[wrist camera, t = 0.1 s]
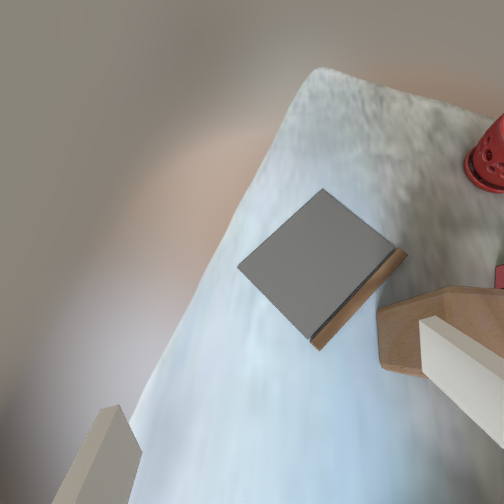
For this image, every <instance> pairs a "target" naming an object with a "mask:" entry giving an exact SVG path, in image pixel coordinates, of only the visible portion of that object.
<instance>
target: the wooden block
mask: <svg viewBox="0 0 504 504" xmlns="http://www.w3.org/2000/svg"><path fill="white" fill-rule="evenodd" d="M432 316H437V317H439V318H440V319H442V320H443V321H445V322H447V323H448V324H450V325H451V326H453V327H454V328H456V329H458V330H459V331H461V332H462V333H464V334H465V335H467V336H469V337H470V338H472V339H473V340H475V341H476V342H478V343H480V344H481V345H483V346H484V347H486V348H487V349H489V350H491V351H492V352H494V353H495V354H497V355H498V356H500V357H502V358H503V359H504V289H493V288H479V287H465V286H448V287H445V288H441V289H438V290H435V291H432V292H429V293H426V294H423V295H420V296H417V297H414V298H410V299H407V300H404V301H401V302H398V303H395V304H392V305H389V306H386V307H383V308H380V309H378V311H377V324H378V339H379V354H380V364H381V367H382V368H384V369H385V370H388V371H393V372H398V373H403V374H408V375H413V376H418V377H423V378H427V379H430V378H429V377H427V376H426V375H425V374H424V373H423V372H422V361H421V345H420V329H419V320H421V319H425V318H428V317H432Z"/></svg>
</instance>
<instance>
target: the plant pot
mask: <svg viewBox="0 0 504 504" xmlns="http://www.w3.org/2000/svg"><path fill="white" fill-rule="evenodd" d="M464 167H465V171H466V174H467V176H468V177H469V179H470V180H471V181H472V182H473V183H474V184H475V185H477V186H478V187H480V188H481V189H483V190H486V191H489V192H493V193H504V114H503V115H501V116H500V117H499V118H498V119H497V120H496V121H495V122H494V123H493V124H492V125H491V127H490V128H489V129H488V130H487V131H486V133H485V134H484V135H483V137H482V138H481V139H480V141H479V143H478V144H477V146H476V147H474V148H473V149H471V150H470V151H469V153H468V154H467V156H466V158H465V162H464Z"/></svg>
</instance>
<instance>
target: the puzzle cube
mask: <svg viewBox="0 0 504 504" xmlns="http://www.w3.org/2000/svg"><path fill="white" fill-rule="evenodd" d="M495 289H504V264H503V265H500V266H497V267H496V281H495Z"/></svg>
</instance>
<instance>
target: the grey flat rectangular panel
mask: <svg viewBox="0 0 504 504" xmlns="http://www.w3.org/2000/svg"><path fill="white" fill-rule="evenodd" d="M394 248H395V247H394V246H393V245H391V244H390V243H389V242H388V241H386V240H385V239H384V238H383V237H381V236H380V235H379V234H378V233H376V232H375V231H374V230H373V229H371V228H370V227H369V226H368V225H366V224H365V223H364V222H363V221H361V220H360V219H359V218H358V217H357V216H355V215H354V214H353V213H352V212H350V211H349V210H348V209H347V208H345V207H344V206H343V205H342V204H340V203H339V202H338V201H337V200H335V199H334V198H333V197H332V196H330V195H329V194H328V193H327V192H325V191H324V190H323V189H322V190H321V191H320V192H319V193H318V194H317V195H315V196H314V197H313V198H312V199H311V200H310V201H309V202H308V203H307V204H306V205H305V206H303V207H302V208H301V209H300V210H299V211H298V212H297V213H296V214H295V215H294V216H292V217H291V218H290V219H289V220H288V221H287V222H286V223H285V224H284V225H283V226H282V227H280V228H279V229H278V230H277V231H276V232H275V233H274V234H273V235H272V236H271V237H269V238H268V239H267V240H266V241H265V242H264V243H263V244H262V245H261V246H260V247H258V248H257V249H256V250H255V251H254V252H253V253H252V254H251V255H250V256H249V257H248V258H246V259H245V260H244V261H243V262H242V263H241V264H240V265H239V266H238V267H237V268H238V269H239V270H240V271H241V272H242V273H243V274H244V275H245V276H246V277H247V278H248V279H249V280H250V281H251V282H252V283H253V284H254V285H255V286H256V287H257V288H258V289H259V290H260V291H261V292H262V293H263V294H264V295H265V296H266V297H267V298H268V299H269V300H270V301H271V303H272V304H273V305H274V306H275V307H276V308H277V309H278V310H279V311H280V312H281V313H282V314H283V315H284V316H285V317H286V318H287V319H288V320H289V321H290V322H291V323H292V324H293V325H294V326H295V327H296V328H297V329H298V330H299V331H300V332H301V333H302V334H303V335H304V336H305V337H306V338H307V339H309V338H310V337H311V336H312V335H313V334H314V333H315V331H316V330H317V329H318V328H319V327H320V326H321V325H322V324H323V323H324V322H325V321H326V320H327V319H328V318H329V317H330V316H331V315H332V313H333V312H334V311H335V310H336V309H337V308H338V307H339V306H340V305H341V304H342V303H343V302H344V301H345V300H346V299H347V298H348V296H349V295H350V294H351V293H352V292H353V291H354V290H355V289H356V288H357V287H358V286H359V285H360V284H361V283H362V282H363V281H364V280H365V278H366V277H367V276H368V275H369V274H370V273H371V272H372V271H373V270H374V269H375V268H376V267H377V266H378V265H379V264H380V263H381V261H382V260H383V259H384V258H385V257H386V256H387V255H388V254H389V253H390V252H391V251H392V250H393V249H394Z"/></svg>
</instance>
